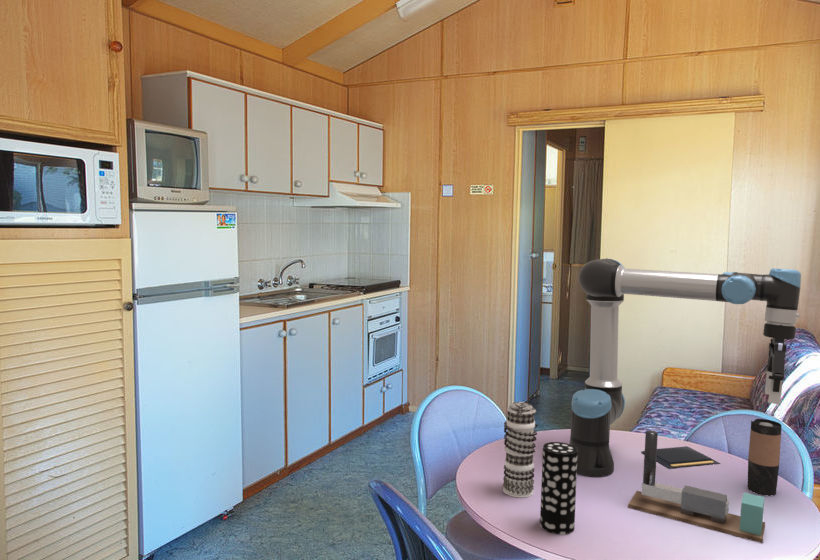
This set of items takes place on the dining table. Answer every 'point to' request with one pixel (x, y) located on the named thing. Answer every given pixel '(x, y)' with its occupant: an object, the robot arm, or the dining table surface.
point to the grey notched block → (703, 503)
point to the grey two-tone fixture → (649, 474)
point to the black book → (682, 458)
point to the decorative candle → (519, 450)
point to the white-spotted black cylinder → (558, 487)
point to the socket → (752, 513)
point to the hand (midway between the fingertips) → (771, 398)
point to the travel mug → (764, 456)
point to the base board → (698, 519)
